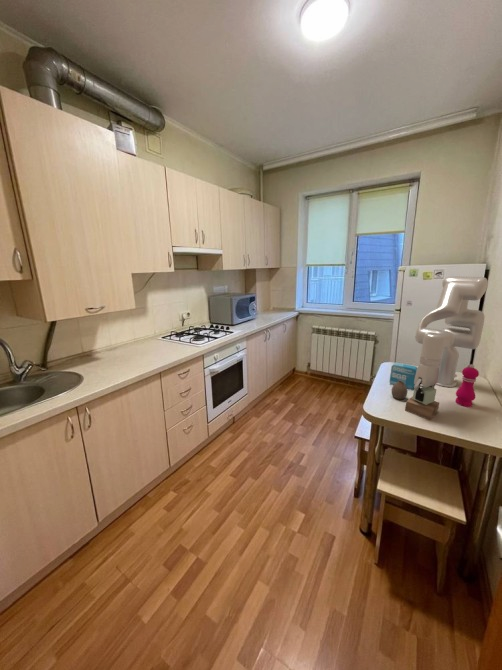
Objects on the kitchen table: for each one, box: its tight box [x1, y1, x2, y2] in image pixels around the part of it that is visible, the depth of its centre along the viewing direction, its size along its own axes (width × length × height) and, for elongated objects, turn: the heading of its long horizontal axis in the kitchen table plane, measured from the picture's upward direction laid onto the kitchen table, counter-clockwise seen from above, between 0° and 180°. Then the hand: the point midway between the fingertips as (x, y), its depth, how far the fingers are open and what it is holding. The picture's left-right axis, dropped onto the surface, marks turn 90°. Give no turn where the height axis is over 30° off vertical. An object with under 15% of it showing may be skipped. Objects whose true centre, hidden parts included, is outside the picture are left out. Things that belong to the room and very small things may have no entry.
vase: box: [391, 381, 408, 400], centre depth 131 cm, size 7×7×9 cm
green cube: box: [412, 384, 437, 405], centre depth 117 cm, size 6×6×6 cm
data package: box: [389, 362, 418, 390], centre depth 144 cm, size 12×4×12 cm, turn 52°
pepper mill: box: [455, 363, 480, 408], centre depth 123 cm, size 7×7×20 cm
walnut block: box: [404, 396, 440, 421], centre depth 119 cm, size 10×10×5 cm
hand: (423, 398), depth 118 cm, fingers closed on green cube, 5 cm apart
